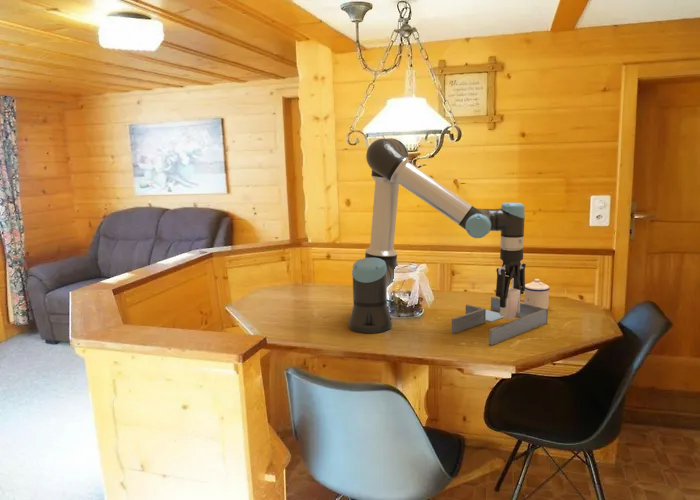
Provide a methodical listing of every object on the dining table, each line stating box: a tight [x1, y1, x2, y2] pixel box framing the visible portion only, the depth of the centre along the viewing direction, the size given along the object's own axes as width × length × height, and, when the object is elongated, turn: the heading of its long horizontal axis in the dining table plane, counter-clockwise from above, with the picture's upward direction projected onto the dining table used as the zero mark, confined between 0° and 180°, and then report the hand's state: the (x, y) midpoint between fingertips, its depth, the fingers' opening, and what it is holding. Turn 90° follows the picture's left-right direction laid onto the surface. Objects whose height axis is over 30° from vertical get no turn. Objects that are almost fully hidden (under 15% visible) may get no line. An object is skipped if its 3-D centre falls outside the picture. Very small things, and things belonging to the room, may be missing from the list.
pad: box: [485, 309, 505, 323], centre depth 201 cm, size 10×10×1 cm
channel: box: [451, 296, 549, 346], centre depth 190 cm, size 32×23×5 cm
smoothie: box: [504, 278, 520, 320], centre depth 189 cm, size 6×6×14 cm
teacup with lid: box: [520, 278, 551, 310], centre depth 207 cm, size 12×9×12 cm
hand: (510, 313), depth 190 cm, fingers closed on smoothie, 6 cm apart
